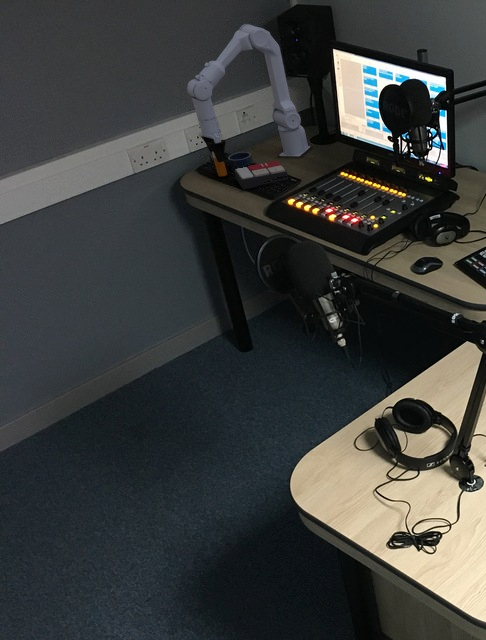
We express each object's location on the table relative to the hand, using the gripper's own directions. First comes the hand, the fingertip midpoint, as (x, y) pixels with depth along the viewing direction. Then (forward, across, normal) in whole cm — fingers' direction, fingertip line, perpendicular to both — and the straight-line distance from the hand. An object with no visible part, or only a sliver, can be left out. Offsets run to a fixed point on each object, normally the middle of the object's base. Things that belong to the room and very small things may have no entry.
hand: (218, 158), depth 281 cm
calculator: (+6, +13, +10) cm, 17 cm away
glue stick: (+6, 0, 0) cm, 6 cm away
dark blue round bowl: (+6, -4, +8) cm, 10 cm away
